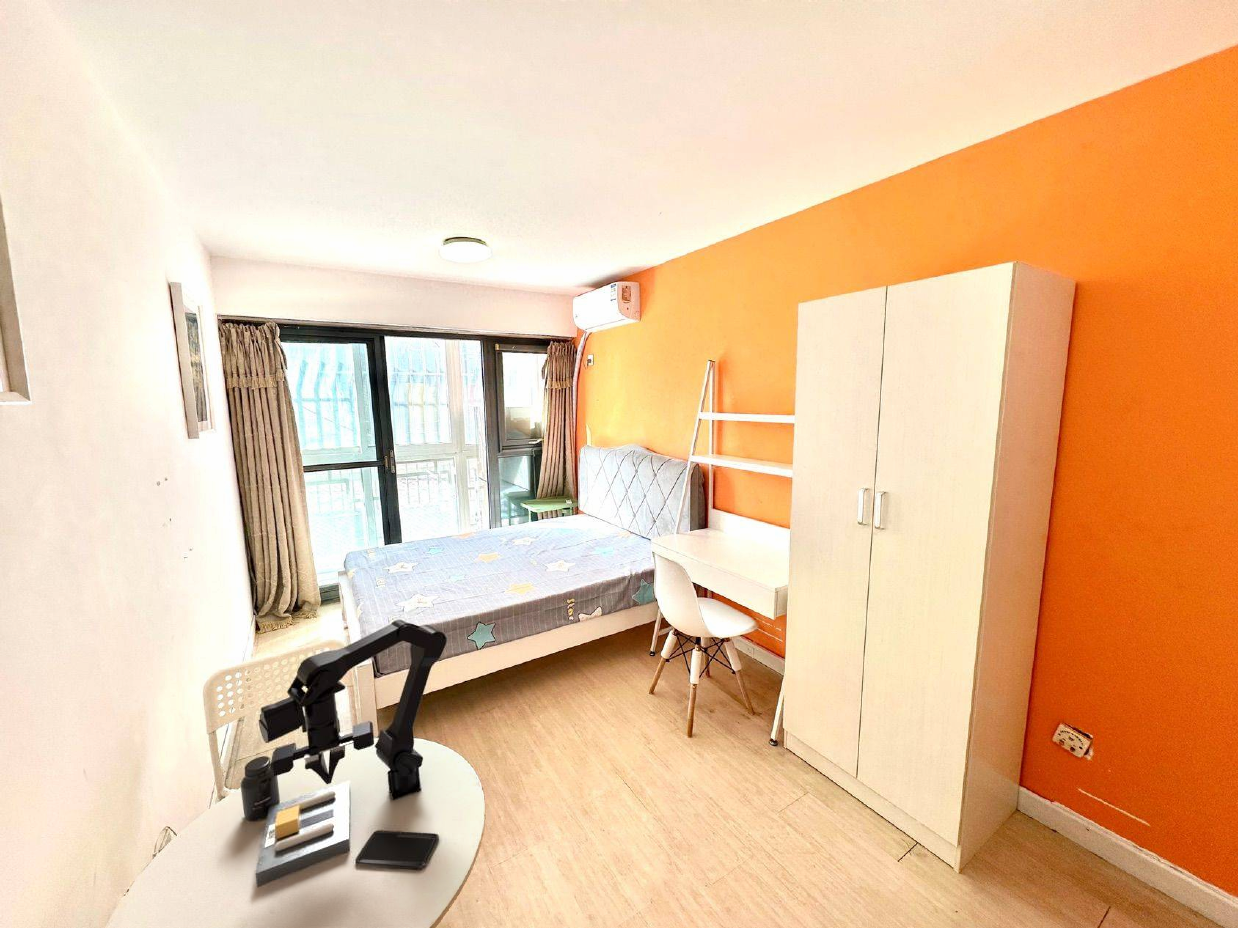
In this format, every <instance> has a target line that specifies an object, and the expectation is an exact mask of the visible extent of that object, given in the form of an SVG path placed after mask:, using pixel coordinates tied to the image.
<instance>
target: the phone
mask: <svg viewBox="0 0 1238 928" xmlns="http://www.w3.org/2000/svg"><path fill="white" fill-rule="evenodd" d="M439 841H440V836H439V834H438V833H431V832H418V831H417V832H414V831H401V830H385V829H383V830H382V829H378V830H375V831H374V832H372V833H371V835H370V836H369V838H368V839H367V841H366V842H365V843H364V845H363V847H362V848H361V850H360V851H359V853H358V854H357V856H356V857H355V862H354V863H355V866H356V867H361V868H375V869H387V870H388V869H389V870H403V871H404V870H405V871H422V870H424V869H425V868H426V867H427V865H428V864H429V861H430V860H431V858H432V855H433V853H434V851H435V849H436V847H437V846H438V844H439Z"/></svg>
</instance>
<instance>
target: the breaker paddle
mask: <svg viewBox="0 0 1238 928" xmlns="http://www.w3.org/2000/svg"><path fill="white" fill-rule="evenodd" d="M300 820H301V814H300V806H299V805H298V806H295V807H292V808H289V809H286V810H283V811H280V812H277V818H276V823H275V831H276V838H277V839H278V838H281V837H284V836H287V835H289V834H292V833H295V832H298V831H299V828H300Z"/></svg>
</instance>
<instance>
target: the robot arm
mask: <svg viewBox="0 0 1238 928" xmlns="http://www.w3.org/2000/svg"><path fill="white" fill-rule="evenodd" d="M402 642H405V643H408V644H410V647H409V648H410V649H409V652H410V662H411V663H410V666H409V669H408V673H407V676H406V680H405V681H404V685H403V688H402V691H401V695H400V697H399V700H398V705H397V707H396V710H395V713H394V716H393V720H392V722H391V724H390V725H389V726H388V727H387V728H386V729H381V730H380V731H379V734H378V739H377V742H376V743H375V738H374V737H375V736H374V735H375V733H374V724H373V722H372V721H371V720H368V721H365V722H362V723H358V724H355V725H353V726H352V732H350V733H349V734H344V733H341V726H340V725H341V723H340V719H339V716H338V713H339V712H338V710H337V702H336V694H337V693H339V692H342V691H344V690H346V686H345V685H344V683H342V682H341V680H342V679H343V677H345V675H346V674H347V673H348V672H349V671H350V670H351V669H353V668H355V667H356V666H358V665H360V664H362V663H364V662H366V661H368V660H369V659H371V658H373V657H375V656H377V655H378V654H381V653H382V652H384V651H386V650H388V649H390V648H392V647H394V646H395V645H397V644H400V643H402ZM447 642H448V639H447V636H446V635H445V633H444V632H443V631H441V630H439V629H437V628H435V627H433V626H431V625H428V624H423V625H420V626H419V625H417V624H414V623H411V622H406V621H405V620H403V619H395V620H393V621H392V622H391V623H390V624H388V625H385V626H384V627H383V628H381V629H379V630H376V631H374V632H373V633H370V634H369V635H366V636H364V637H362V638H361V639H359V640H357V641H354V642H353V643H351V644H349V645H346V646H344V647H342V648H339V649H336V650H329V651H324V652H320V653H317V654H314V655H311V656H309V657H307V658H305V659H304V660H303V661H301V662H300V665H299V666H298V668H297V672H296V676H295V678H294V679H293V681H292V683H291V684H290V686H289V688H288V689H287V691H286V693H287V695H288V696H289V697H286V698H285V699H282V700H280V701H277V702H275V703H272V704H271V703H270V704H267V705H264V706H262V707H261V708H260V714H259V719H258V725H259V729H260V730H259V731H260V734H261V737H262V740H263V741H264V743H265V744H268V743H271V742H272V741H275V740H277V739H279V738H281V737H284V736H286V735H288V734H290V733H292V732H294V731H297V730H299V729H300V728H301V732H302V734H303V733H306V736H307V743H308V744H307V745H306V746H303V747H299V748H297V744H296V742H294V743H290V744H289V743H288V744H286V745H282V746H278V747H276V748H275V749H274V750H273V752H272V756H271V759H270V763H271V764H270V769H271V776H277V777H278V776H280V775H284V774H287V773H289V772H291V771H292V769H293V768H294V766H295V765H294V762H295V761H297V760H300V759H304V762H305V763H304V769H305V770H312V771H313V772H314V773H315V774H317V775H318V776H319V778H321V780H322V781H323V782H324V783H325V784H326V785H329V784H331V783H332V781H333V778H334V774H335V770H336V768H337V765H338V764H339V762H340V760H342V759H344V758H345V757H346V746H348V745H351V744H352V745H353V749H354V750H356V751H361V750H364V749H367V748H370V747H373V746H374V748H375V755H377V757H378V759H380V761H382V763H383V764H384V765H385V766H386V767H388V769H389V770H388V771H387V774H386V775H387V781H388V782H387V783H388V793H389V794H390V795H391V800H392V801H395V800H398V799H400V798H401V799H402V798H403V797H406V796H409V795H412V794H414V793H417V792H421V790H422V783H421V779H420V769H419V768H421V767H422V765H423V761H424V757H423V755H422V754H420V753H419V752H418V751H417V750H415V748H414V747H415V746H414V745H415V737H414V725H415V723H416V722H415V721H416V717H417V715H418V711H419V708H420V705H421V701H422V699H423V695H424V692H425V690H426V686H427V683H428V679H429V676H430V673H431V669H432V667H433V666H434V664H435V663H437V662H438V661H439V659H441V656H442V654H443V652H444V650H445V647H446V646H447ZM304 687H305V688H306V689H307V690H306V691H305V690H304V689H303V688H304ZM325 752H329V758H328V759H329V760H328V768H327V763H326V760H325V755H324V753H325Z"/></svg>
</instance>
